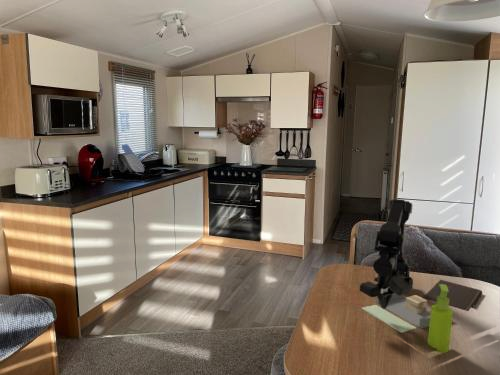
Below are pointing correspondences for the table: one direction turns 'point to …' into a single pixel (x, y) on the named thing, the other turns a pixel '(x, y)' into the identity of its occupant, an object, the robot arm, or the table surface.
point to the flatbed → (407, 311)
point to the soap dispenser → (440, 322)
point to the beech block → (416, 304)
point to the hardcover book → (456, 295)
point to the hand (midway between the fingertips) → (383, 308)
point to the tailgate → (389, 318)
